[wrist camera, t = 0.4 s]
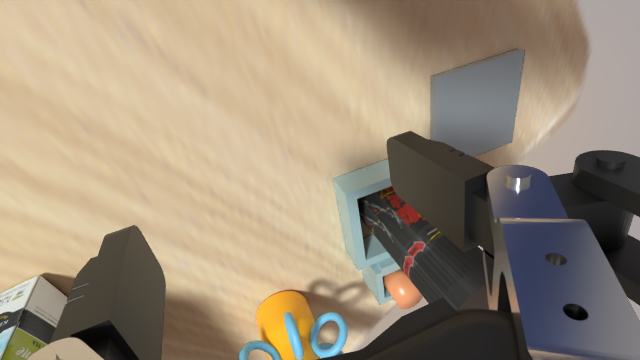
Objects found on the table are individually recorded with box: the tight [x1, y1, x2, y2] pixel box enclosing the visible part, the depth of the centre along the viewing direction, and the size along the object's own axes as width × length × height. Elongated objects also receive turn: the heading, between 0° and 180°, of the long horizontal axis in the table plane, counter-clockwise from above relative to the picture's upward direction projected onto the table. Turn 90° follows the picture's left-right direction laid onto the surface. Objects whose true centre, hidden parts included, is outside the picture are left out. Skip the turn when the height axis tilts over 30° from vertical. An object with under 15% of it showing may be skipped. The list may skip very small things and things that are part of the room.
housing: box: [333, 159, 401, 305], centre depth 37 cm, size 16×10×4 cm, turn 10°
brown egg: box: [383, 269, 423, 309], centre depth 38 cm, size 3×3×4 cm
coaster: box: [431, 49, 525, 157], centre depth 35 cm, size 10×10×1 cm
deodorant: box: [358, 186, 489, 310], centre depth 31 cm, size 6×6×15 cm
